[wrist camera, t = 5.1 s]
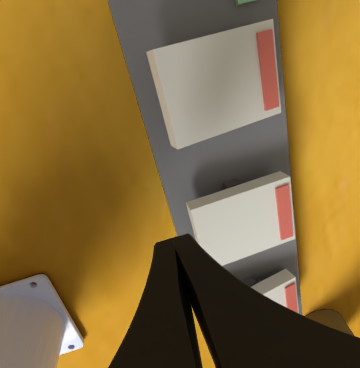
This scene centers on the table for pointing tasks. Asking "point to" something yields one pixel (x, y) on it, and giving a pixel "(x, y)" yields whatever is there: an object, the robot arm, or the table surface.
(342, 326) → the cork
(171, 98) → the rocker
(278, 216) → the rocker
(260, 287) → the rocker
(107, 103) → the table surface
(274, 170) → the strip
